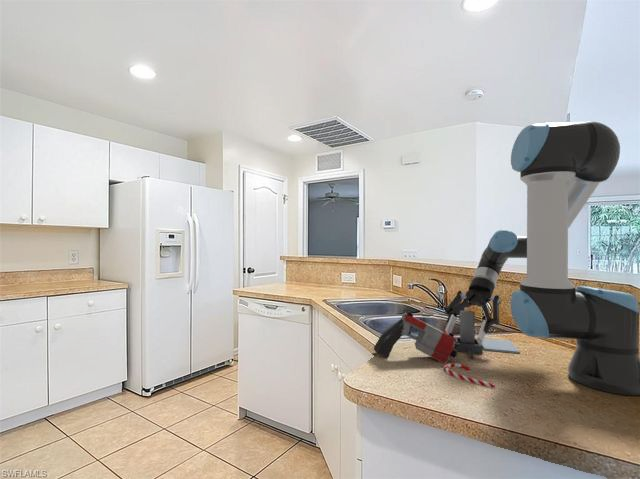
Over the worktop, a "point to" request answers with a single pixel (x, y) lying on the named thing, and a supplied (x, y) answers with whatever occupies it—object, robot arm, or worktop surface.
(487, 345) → the slate mat
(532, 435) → the worktop surface
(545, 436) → the worktop surface
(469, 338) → the rod
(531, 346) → the worktop surface
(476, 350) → the grey recessed block
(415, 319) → the toy gun
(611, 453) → the worktop surface
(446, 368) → the candy cane
